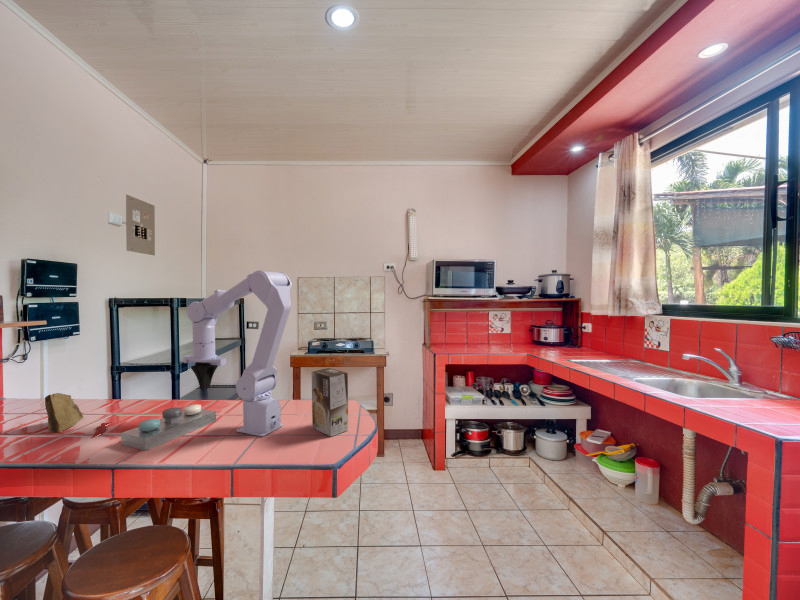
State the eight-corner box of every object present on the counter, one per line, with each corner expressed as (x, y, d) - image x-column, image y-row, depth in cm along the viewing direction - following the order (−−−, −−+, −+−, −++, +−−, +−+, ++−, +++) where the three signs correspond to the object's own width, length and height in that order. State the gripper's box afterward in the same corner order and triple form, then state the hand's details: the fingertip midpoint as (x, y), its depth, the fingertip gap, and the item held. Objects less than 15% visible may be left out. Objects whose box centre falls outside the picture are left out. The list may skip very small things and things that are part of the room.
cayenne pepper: (107, 423, 102) (107, 417, 102) (124, 423, 103) (124, 416, 102) (74, 441, 90) (74, 434, 90) (94, 440, 91) (93, 433, 91)
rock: (72, 408, 107) (31, 415, 97) (87, 387, 106) (47, 392, 97) (90, 434, 104) (49, 443, 94) (106, 412, 103) (66, 419, 94)
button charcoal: (185, 421, 96) (185, 408, 96) (170, 427, 92) (170, 414, 92) (174, 419, 98) (174, 406, 98) (158, 425, 94) (158, 411, 93)
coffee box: (349, 430, 96) (349, 372, 96) (330, 437, 92) (330, 376, 91) (329, 421, 102) (329, 367, 102) (310, 428, 98) (310, 371, 97)
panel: (216, 421, 103) (215, 411, 103) (145, 450, 84) (145, 438, 84) (194, 417, 106) (193, 407, 106) (121, 444, 87) (121, 432, 87)
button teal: (164, 434, 91) (164, 419, 90) (146, 440, 86) (146, 426, 86) (152, 431, 92) (152, 417, 92) (135, 438, 88) (134, 423, 88)
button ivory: (204, 418, 102) (204, 405, 102) (191, 423, 98) (190, 410, 98) (194, 416, 103) (193, 403, 103) (180, 421, 99) (179, 408, 99)
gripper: (234, 341, 104) (235, 386, 104) (197, 339, 109) (198, 382, 109) (214, 345, 97) (215, 393, 98) (176, 342, 102) (177, 388, 102)
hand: (205, 388), depth 103 cm, fingers closed
